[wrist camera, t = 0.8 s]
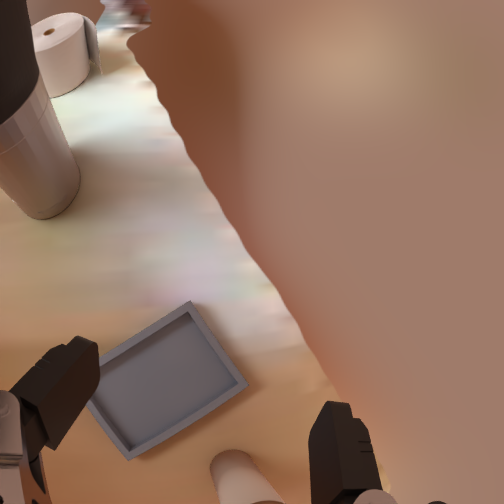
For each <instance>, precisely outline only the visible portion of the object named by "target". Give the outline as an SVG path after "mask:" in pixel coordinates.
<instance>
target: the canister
mask: <svg viewBox="0 0 504 504" xmlns="http://www.w3.org/2000/svg"><path fill="white" fill-rule="evenodd" d="M210 473H211V476H212V480H213V483H214V486H215V489H216V492H217V495H218V498H219V501H220V504H286V503H285V502H284V501H283V500H282V498H281V497H280V496H279V495H278V493H277V492H276V491H275V490H274V488H273V487H272V486H271V484H270V483H269V482H268V480H267V479H266V478H265V476H264V475H263V474H262V472H261V471H260V470H259V468H258V467H257V466H256V464H255V463H254V461H253V460H252V459H251V457H250V456H249V455H248V454H246V453H245V452H243V451H240V450H226V451H223V452H221V453H219V454H218V455H216V456H215V457H214V459H213V460H212V462H211V464H210Z"/></svg>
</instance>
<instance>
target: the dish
mask: <svg viewBox="0 0 504 504" xmlns="http://www.w3.org/2000/svg"><path fill="white" fill-rule="evenodd" d="M99 365H100V382H99V385H98V387H97V389H96V391H95V392H94V394H93V395H92V397H91V398H90V399H89V401H88V402H87V404H86V406H87V407H88V409H89V410H90V412H91V413H92V415H93V416H94V418H95V419H96V420H97V422H98V423H99V424H100V426H101V427H102V429H103V430H104V431H105V433H106V434H107V435H108V437H109V438H110V439H111V440H112V442H113V443H114V444H115V446H116V447H117V448H118V449H119V451H120V452H121V453H122V454H123V456H124V457H125V458H126V459H127V460H128V461H129V460H131V459H133V458H135V457H136V456H138V455H140V454H142V453H144V452H145V451H147V450H149V449H151V448H153V447H154V446H156V445H158V444H159V443H161V442H163V441H165V440H166V439H168V438H170V437H171V436H173V435H175V434H176V433H178V432H180V431H181V430H183V429H184V428H186V427H188V426H189V425H191V424H192V423H194V422H196V421H197V420H199V419H200V418H202V417H203V416H205V415H206V414H208V413H209V412H211V411H213V410H214V409H216V408H217V407H219V406H220V405H221V404H223V403H224V402H226V401H227V400H229V399H230V398H232V397H233V396H235V395H236V394H238V393H239V392H240V391H242V390H243V389H245V388H246V387H247V386H249V384H248V383H247V381H246V380H245V379H244V377H243V376H242V375H241V373H240V372H239V370H238V369H237V368H236V366H235V365H234V364H233V362H232V361H231V359H230V358H229V357H228V355H227V354H226V352H225V351H224V349H223V348H222V347H221V345H220V344H219V342H218V341H217V339H216V338H215V336H214V335H213V334H212V332H211V331H210V329H209V328H208V326H207V325H206V323H205V322H204V320H203V319H202V317H201V316H200V314H199V313H198V311H197V310H196V308H195V307H194V305H193V304H192V302H191V301H188V302H187V303H185V304H184V305H182V306H180V307H179V308H177V309H176V310H174V311H173V312H171V313H169V314H168V315H166V316H165V317H163V318H161V319H160V320H158V321H157V322H155V323H154V324H152V325H150V326H149V327H147V328H146V329H144V330H142V331H141V332H139V333H138V334H136V335H135V336H133V337H131V338H130V339H128V340H127V341H125V342H123V343H122V344H120V345H119V346H117V347H115V348H114V349H112V350H111V351H109V352H107V353H106V354H104V355H103V356H101V357H99Z"/></svg>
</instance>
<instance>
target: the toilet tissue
mask: <svg viewBox="0 0 504 504" xmlns="http://www.w3.org/2000/svg"><path fill="white" fill-rule="evenodd" d="M31 29H32V35H33V42H34V50H35V56H36V60H37V63H38V66H39V69H40V72H41V75H42V78H43V81H44V84H45V87H46V90H47V92H48V95H49V98H53V97H57V96H60V95H63V94H65V93H67V92H69V91H71V90H73V89H74V88H76V87H77V86H78V85H80V84H81V83H82V82H83V81H84V80H85V78H86V77H87V76H88V74H89V72H90V61H89V60H91V61H92V62H93V63H95V65H96V66H97V67H98V68H99V69H100V71H101V73H102V69H101V62H100V55H99V47H98V40H97V30H96V27H95V25H94V23H92V22H91V20H89V18H87V17H85V16H82V15H80V14H77V13H62V14H57V15H54V16H51V17H48V18H46V19H44V20H42V21H40V22H38V23H36V24H35V25H33V26H32V27H31ZM102 75H103V74H102Z"/></svg>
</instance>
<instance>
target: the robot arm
mask: <svg viewBox="0 0 504 504" xmlns="http://www.w3.org/2000/svg"><path fill="white" fill-rule="evenodd" d="M79 184H80V172H79V168H78V166H77V164H76V162H75V159H74V157H73V155H72V152H71V150H70V147H69V145H68V143H67V140H66V138H65V136H64V133H63V131H62V128H61V126H60V124H59V121H58V119H57V116H56V113H55V111H54V108H53V106H52V103H51V100H50V98H49V95H48V92H47V90H46V87H45V84H44V81H43V78H42V75H41V72H40V69H39V66H38V63H37V60H36V56H35V50H34V42H33V35H32V29H31V24H30V20H29V15H28V10H27V4H26V0H0V187H1V188H2V189H3V190H4V191H5V193H6V194H7V195H8V196H9V197H10V198H11V199H12V200H13V201H14V202H15V203H16V204H17V205H18V206H19V207H20V208H21V209H22V210H23V211H24V212H25V213H26V214H27V215H28V216H30V217H32V218H35V219H47V218H50V217H53V216H55V215H57V214H59V213H60V212H62V211H63V210H64V209H65V208H66V207H67V206H68V205H69V204H70V203H71V202H72V200H73V199H74V197H75V195H76V193H77V191H78V188H79ZM99 382H100V365H99V353H98V345H97V343H96V342H93V341H91V340H88V339H85V338H83V337H80V336H76V337H74V338H73V339H72V340H71V341H70V342H69V343H68V344H67V345H64V344H61V345H58V346H56V347H54V348H52V349H50V350H49V351H48V352H47V353H46V354H45V355H44V356H43V357H42V359H40V360H39V361H38V362H37V363H36V364H35V366H33V367H32V368H31V369H30V370H29V371H28V372H27V373H26V374H25V375H24V376H23V377H22V378H21V379H20V380H19V381H18V382H17V383H16V384H15V385H14V386H13V387H12V388H11V389H10V390H9V391H4V390H0V504H52V501H51V498H50V495H49V491H48V486H47V482H46V477H45V472H44V466H43V461H42V455H41V452H40V451H41V450H42V448H43V447H44V445H45V446H47V447H49V448H51V449H52V450H54V451H55V450H56V448H57V447H58V445H59V444H60V442H61V441H62V439H63V438H64V436H65V435H66V433H67V432H68V430H69V429H70V427H71V426H72V424H73V423H74V421H75V420H76V418H77V417H78V415H79V414H80V412H81V411H82V410H83V408H84V407H85V405H86V404H87V402H88V401H89V399H90V398H91V397H92V395H93V394H94V392H95V391H96V389H97V387H98V385H99ZM308 447H309V463H310V482H311V504H397V503H396V501H395V499H394V498H393V497H392V496H391V495H390V494H388V493H387V492H385V491H383V489H382V486H381V481H380V477H379V473H378V468H377V464H376V460H375V456H374V453H373V448H372V444H371V440H370V436H369V432H368V429H367V428H366V426H365V425H364V424H363V422H362V421H361V419H359V418H353V416H352V412H351V408H350V405H349V403H343V402H334V401H327V402H326V403H325V404H324V406H323V408H322V410H321V412H320V414H319V415H318V417H317V419H316V421H315V423H314V425H313V427H312V429H311V431H310V435H309V441H308ZM429 504H446V503H444V502H441V501H435V502H431V503H429Z"/></svg>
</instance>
